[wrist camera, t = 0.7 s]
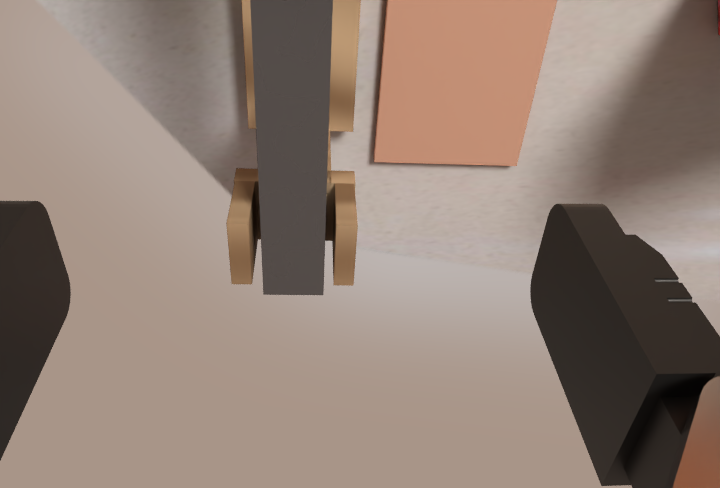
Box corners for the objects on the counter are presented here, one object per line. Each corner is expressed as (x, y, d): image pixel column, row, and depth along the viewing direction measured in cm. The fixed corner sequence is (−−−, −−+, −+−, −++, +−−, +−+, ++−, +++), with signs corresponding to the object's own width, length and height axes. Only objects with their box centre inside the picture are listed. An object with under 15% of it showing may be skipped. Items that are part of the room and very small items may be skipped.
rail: (236, -535, 14) (223, -583, 12) (347, -521, 14) (351, -568, 12) (267, 257, 28) (263, 294, 26) (323, 258, 28) (323, 295, 26)
